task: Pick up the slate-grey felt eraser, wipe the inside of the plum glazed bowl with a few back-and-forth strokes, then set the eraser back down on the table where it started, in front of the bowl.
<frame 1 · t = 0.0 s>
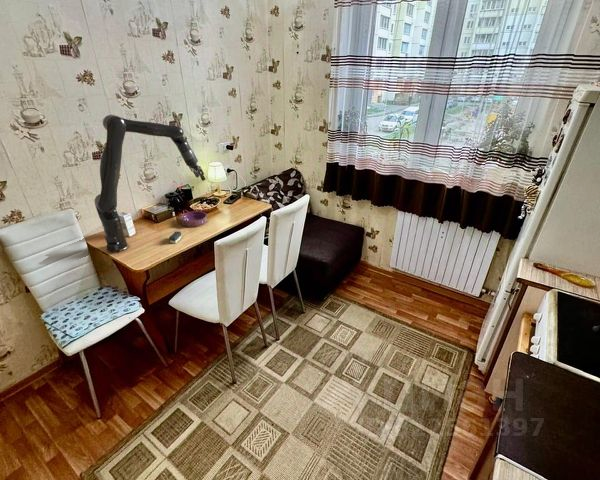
hand: (201, 178, 200), 31 cm above the table, tool tilted 20°, fingers open, 8 cm apart
eraser: (176, 240, 191), on the table
syrup box: (129, 234, 196), on the table
bowl: (194, 221, 215), on the table
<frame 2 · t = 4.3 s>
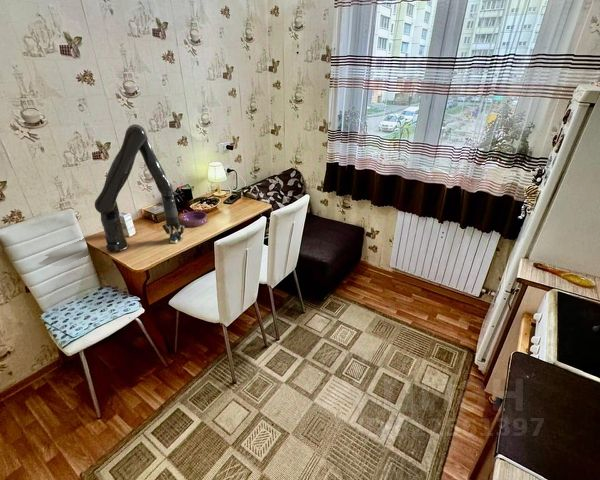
hand: (176, 239, 191), 0 cm above the table, tool pointing down, fingers closed on eraser, 3 cm apart
eraser: (176, 240, 191), on the table, touching gripper
everything else where it was.
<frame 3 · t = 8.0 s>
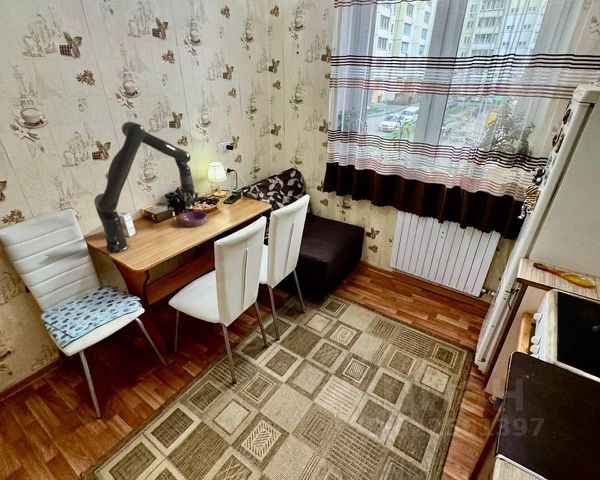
hand: (190, 206, 207), 13 cm above the table, tool pointing down, fingers closed on eraser, 3 cm apart
eraser: (190, 206, 207), point 13 cm above the table, touching gripper
everything else where it was.
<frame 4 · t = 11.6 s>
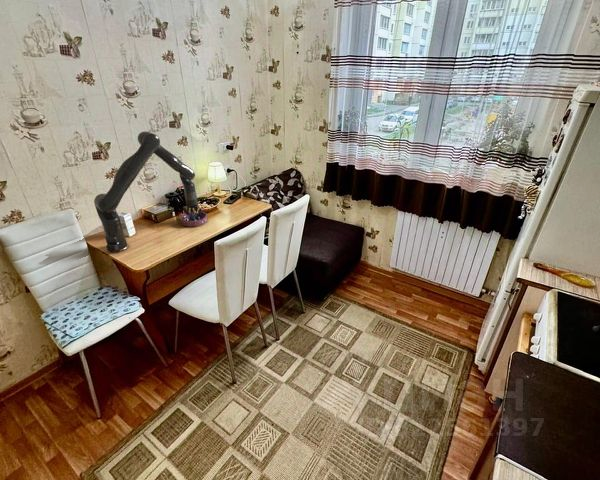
hand: (194, 220, 214), 1 cm above the table, tool pointing down, fingers closed on eraser, 3 cm apart
eraser: (194, 220, 214), point 1 cm above the table, touching gripper
everything else where it was.
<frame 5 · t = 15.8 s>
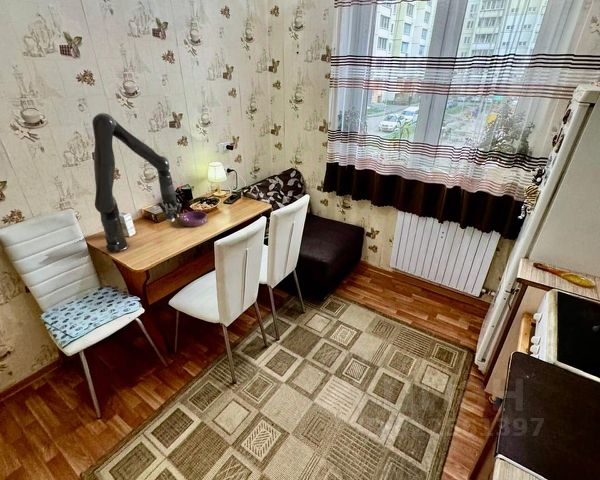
hand: (173, 218, 185), 14 cm above the table, tool pointing down, fingers closed on eraser, 3 cm apart
eraser: (173, 218, 186), point 14 cm above the table, touching gripper
everything else where it was.
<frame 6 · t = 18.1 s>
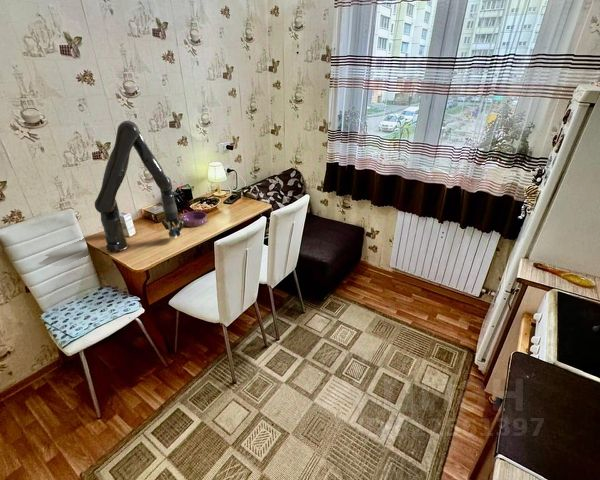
hand: (175, 235, 190), 3 cm above the table, tool pointing down, fingers closed on eraser, 3 cm apart
eraser: (175, 235, 190), point 3 cm above the table, touching gripper
everything else where it was.
when the fingers open (0 cm above the table, at t = 19.3 s): eraser stays where it is, on the table.
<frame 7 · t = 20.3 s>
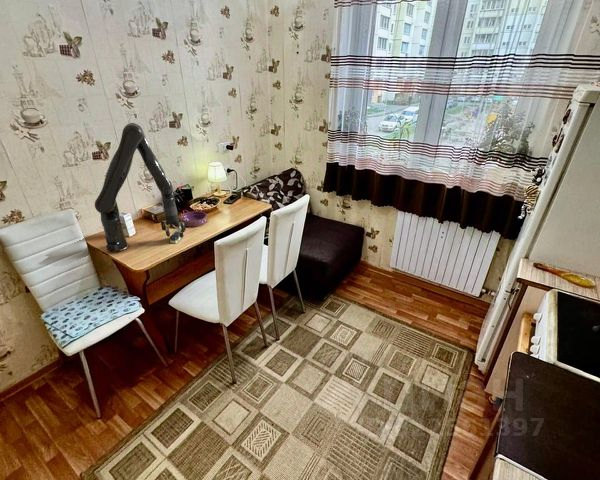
hand: (175, 236, 190), 2 cm above the table, tool pointing down, fingers open, 8 cm apart
eraser: (176, 239, 191), on the table
everything else where it was.
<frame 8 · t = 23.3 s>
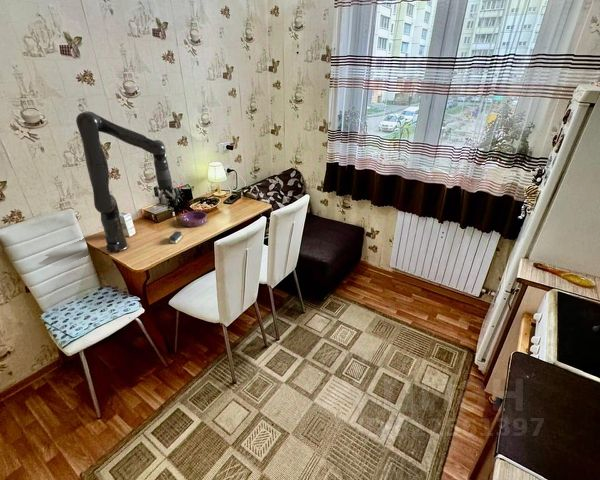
hand: (169, 204, 180), 24 cm above the table, tool pointing down, fingers open, 8 cm apart
nothing on the table moved.
at the end: eraser inside the target area on the table beside the bowl (0.1 cm from its centre), on the table; eraser tilted 0°; the gripper is holding nothing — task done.
